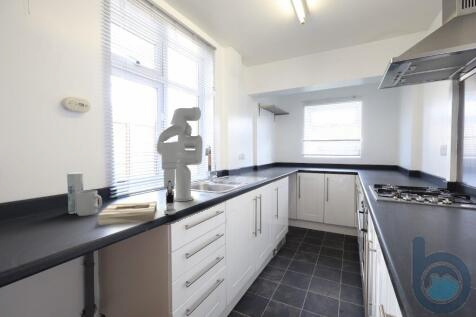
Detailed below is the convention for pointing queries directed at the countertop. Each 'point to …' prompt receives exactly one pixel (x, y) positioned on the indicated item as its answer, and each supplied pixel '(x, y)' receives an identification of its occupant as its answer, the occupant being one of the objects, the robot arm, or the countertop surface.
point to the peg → (170, 207)
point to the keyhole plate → (127, 213)
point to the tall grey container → (74, 189)
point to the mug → (88, 202)
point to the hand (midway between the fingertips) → (170, 201)
